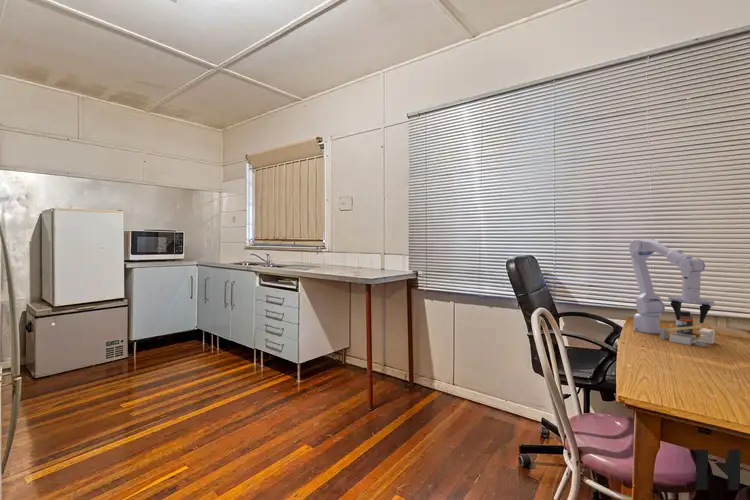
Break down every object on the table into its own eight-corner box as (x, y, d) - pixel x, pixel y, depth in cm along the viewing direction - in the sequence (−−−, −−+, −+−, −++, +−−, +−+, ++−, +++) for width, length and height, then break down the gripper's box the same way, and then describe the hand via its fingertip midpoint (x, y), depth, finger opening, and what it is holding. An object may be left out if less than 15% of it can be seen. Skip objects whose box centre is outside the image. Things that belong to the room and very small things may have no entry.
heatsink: (669, 341, 161) (669, 334, 161) (675, 339, 165) (675, 332, 165) (690, 345, 155) (690, 338, 155) (696, 342, 159) (696, 335, 159)
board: (650, 344, 161) (650, 330, 160) (670, 336, 173) (670, 323, 173) (698, 354, 148) (699, 339, 147) (716, 345, 160) (717, 331, 160)
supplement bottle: (686, 334, 178) (687, 309, 177) (695, 337, 172) (696, 312, 171) (672, 333, 178) (673, 309, 178) (681, 337, 172) (682, 312, 172)
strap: (663, 331, 164) (662, 329, 164) (665, 330, 166) (665, 328, 166) (700, 327, 154) (699, 325, 154) (702, 327, 155) (701, 325, 156)
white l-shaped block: (696, 343, 158) (696, 330, 158) (702, 340, 162) (702, 328, 162) (708, 345, 154) (709, 332, 154) (714, 342, 158) (714, 330, 158)
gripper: (666, 286, 161) (664, 319, 161) (711, 291, 149) (709, 325, 150) (672, 285, 165) (671, 317, 165) (716, 289, 153) (715, 323, 154)
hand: (689, 321), depth 158 cm, fingers open, 7 cm apart
